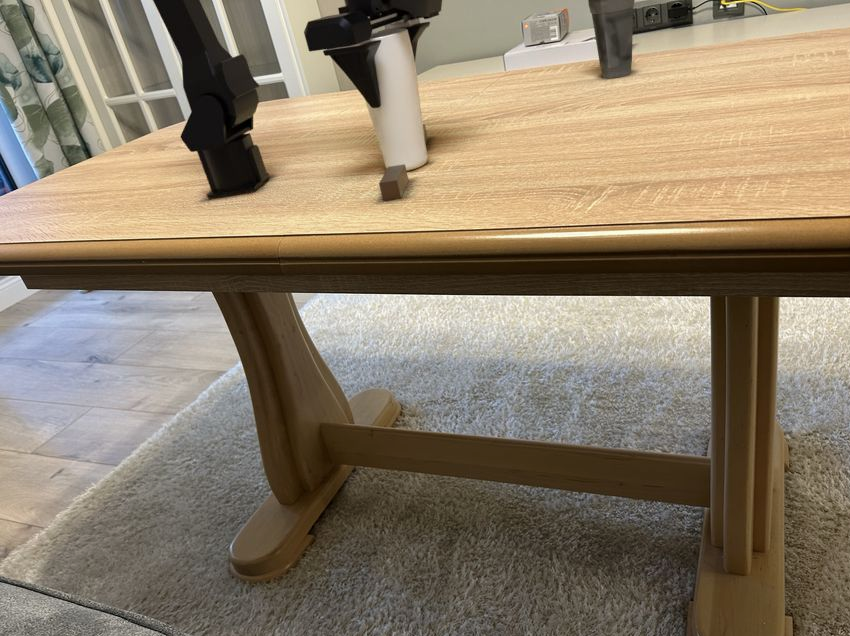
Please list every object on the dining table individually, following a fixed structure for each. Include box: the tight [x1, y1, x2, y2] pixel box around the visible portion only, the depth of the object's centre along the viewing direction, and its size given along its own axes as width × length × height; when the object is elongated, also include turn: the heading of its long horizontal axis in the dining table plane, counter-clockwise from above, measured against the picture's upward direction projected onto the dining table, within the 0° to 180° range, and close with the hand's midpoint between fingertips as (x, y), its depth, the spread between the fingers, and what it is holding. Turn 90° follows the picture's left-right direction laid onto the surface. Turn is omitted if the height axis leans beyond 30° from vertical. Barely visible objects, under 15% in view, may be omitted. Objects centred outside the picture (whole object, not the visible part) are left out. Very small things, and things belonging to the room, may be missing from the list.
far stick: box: [423, 123, 429, 145], centre depth 94 cm, size 6×2×2 cm, turn 176°
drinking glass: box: [363, 28, 429, 172], centre depth 83 cm, size 7×7×15 cm
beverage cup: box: [587, 0, 635, 79], centre depth 107 cm, size 7×7×20 cm
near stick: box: [378, 164, 410, 201], centre depth 78 cm, size 6×2×2 cm, turn 176°
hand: (392, 99), depth 82 cm, fingers open, 7 cm apart
